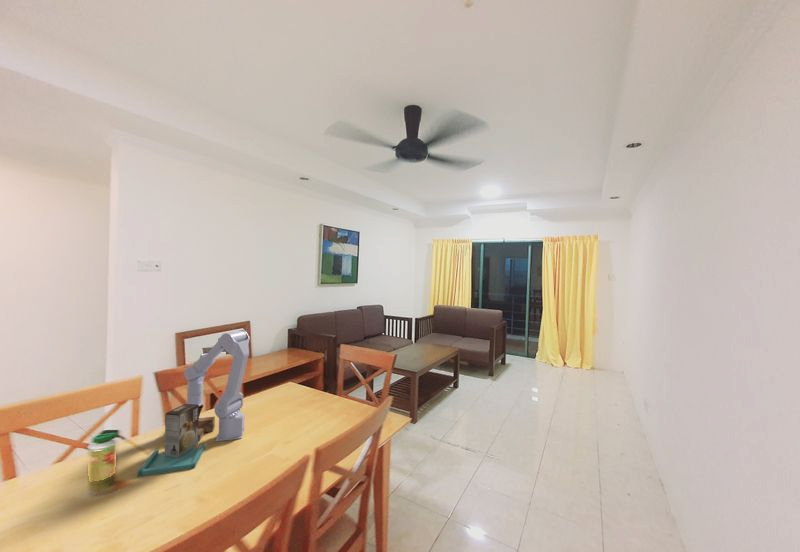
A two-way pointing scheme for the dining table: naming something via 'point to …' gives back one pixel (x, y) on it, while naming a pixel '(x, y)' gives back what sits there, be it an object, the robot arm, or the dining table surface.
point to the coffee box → (181, 429)
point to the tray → (170, 462)
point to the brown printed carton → (205, 426)
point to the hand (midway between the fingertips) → (194, 423)
